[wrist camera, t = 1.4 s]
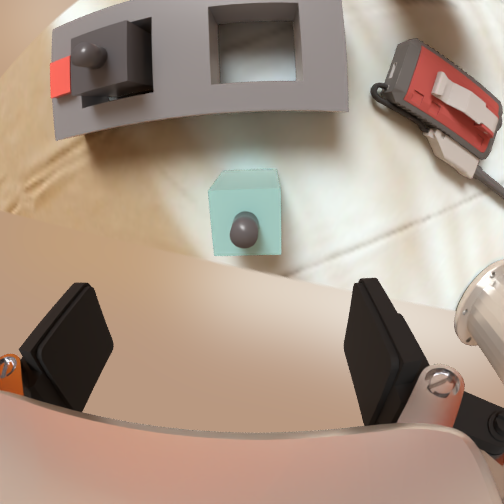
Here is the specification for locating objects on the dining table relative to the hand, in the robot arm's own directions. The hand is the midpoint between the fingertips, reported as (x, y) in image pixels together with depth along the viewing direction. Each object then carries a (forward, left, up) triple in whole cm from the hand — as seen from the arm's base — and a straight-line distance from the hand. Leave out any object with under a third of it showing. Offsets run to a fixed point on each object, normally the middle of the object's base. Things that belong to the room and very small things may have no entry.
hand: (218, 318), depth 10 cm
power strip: (+4, -12, -17) cm, 21 cm away
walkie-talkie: (-20, -7, -17) cm, 28 cm away
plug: (0, 0, -17) cm, 17 cm away
